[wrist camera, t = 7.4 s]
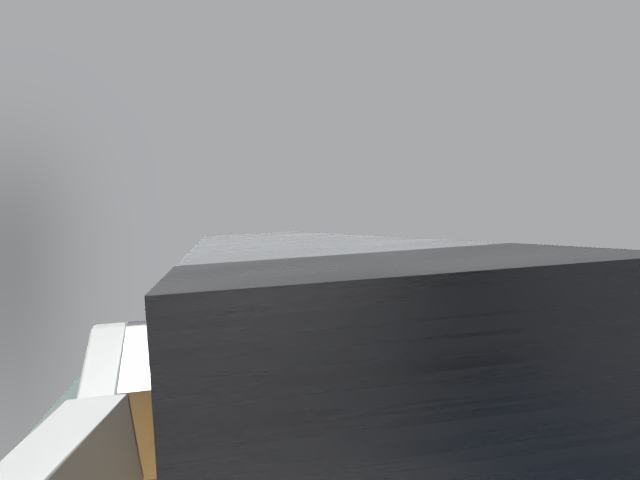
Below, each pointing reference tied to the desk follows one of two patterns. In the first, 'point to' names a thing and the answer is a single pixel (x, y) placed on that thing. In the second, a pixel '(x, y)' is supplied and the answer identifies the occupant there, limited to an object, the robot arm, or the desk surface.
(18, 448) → the robot arm
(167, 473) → the lever bar
